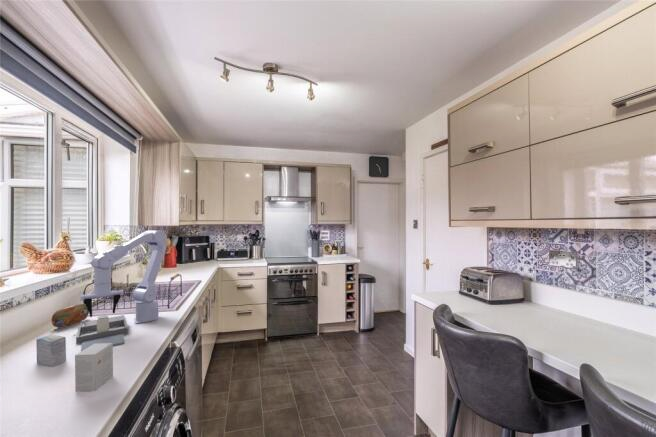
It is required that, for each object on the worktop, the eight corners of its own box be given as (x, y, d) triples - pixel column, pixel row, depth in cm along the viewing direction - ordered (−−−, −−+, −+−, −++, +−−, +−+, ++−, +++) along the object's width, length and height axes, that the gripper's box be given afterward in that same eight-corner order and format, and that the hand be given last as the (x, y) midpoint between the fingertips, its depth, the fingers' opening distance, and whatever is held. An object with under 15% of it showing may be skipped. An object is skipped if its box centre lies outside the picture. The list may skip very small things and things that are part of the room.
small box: (94, 377, 90) (94, 343, 90) (113, 376, 91) (113, 342, 91) (74, 392, 82) (73, 355, 82) (95, 391, 83) (95, 354, 83)
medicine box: (66, 361, 100) (66, 336, 101) (50, 367, 96) (50, 341, 96) (52, 358, 103) (51, 333, 103) (36, 364, 99) (35, 338, 99)
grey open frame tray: (124, 317, 147) (123, 311, 147) (127, 333, 125) (127, 326, 125) (80, 324, 136) (80, 318, 136) (76, 343, 115) (76, 336, 115)
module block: (108, 330, 129) (108, 313, 129) (108, 334, 125) (108, 317, 125) (97, 332, 127) (97, 315, 127) (97, 336, 122) (96, 319, 122)
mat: (122, 335, 123) (122, 333, 123) (124, 343, 115) (123, 342, 115) (82, 343, 115) (82, 341, 115) (80, 353, 107) (80, 351, 107)
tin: (55, 330, 130) (55, 311, 130) (49, 330, 130) (49, 311, 130) (89, 319, 144) (89, 302, 144) (84, 318, 145) (84, 301, 145)
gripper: (122, 279, 133) (122, 309, 133) (81, 283, 124) (81, 315, 124) (123, 281, 128) (123, 312, 128) (80, 286, 119) (80, 319, 119)
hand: (102, 314), depth 126 cm, fingers open, 7 cm apart
